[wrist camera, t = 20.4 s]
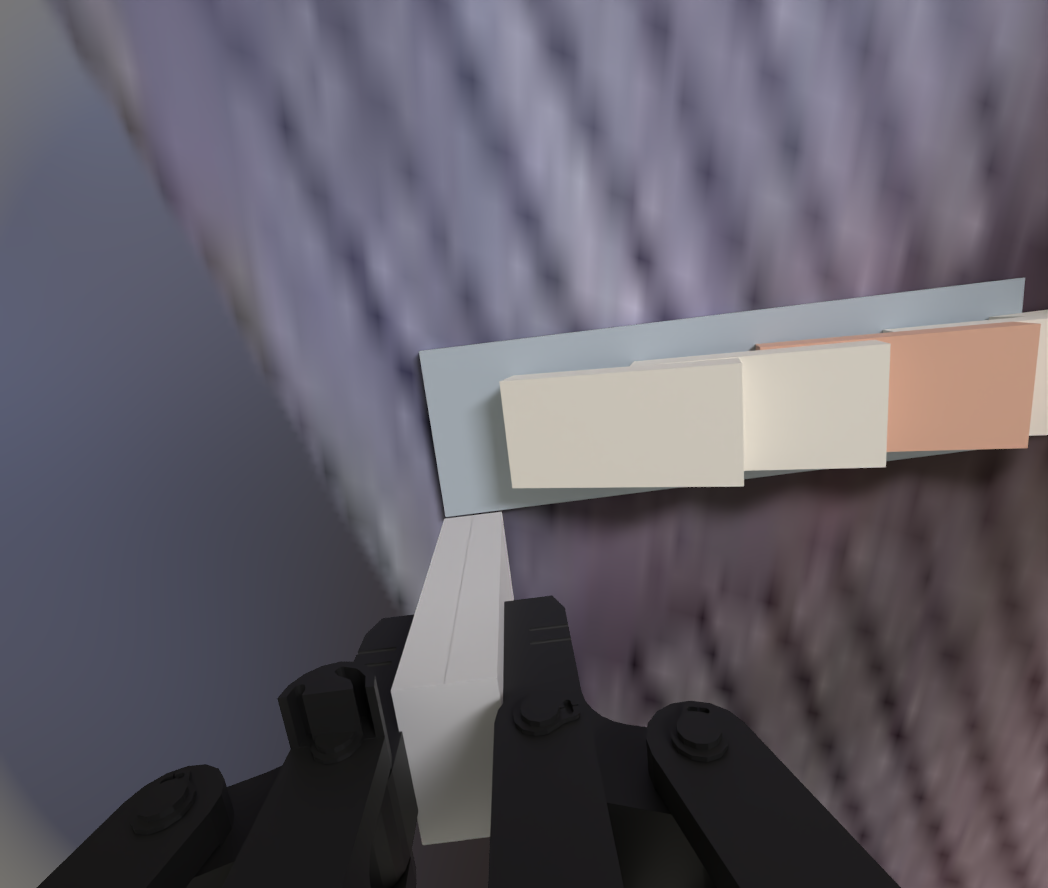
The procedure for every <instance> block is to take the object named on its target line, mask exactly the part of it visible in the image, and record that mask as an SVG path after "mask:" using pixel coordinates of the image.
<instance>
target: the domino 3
mask: <svg viewBox="0 0 1048 888" xmlns="http://www.w3.org/2000/svg"><path fill="white" fill-rule="evenodd" d="M1002 322H1025V323H1038V324H1041V328H1040V337H1039V346H1038V356H1037V365H1036V374H1035V384H1034V393H1033V402H1032V411H1031V421H1030V430H1029V436H1035V435H1048V314H1047V315H1036V316H1025V317H1015V318H1004V319H993V320H982V321H971V322H960V323H949V324H938V325H928V326H917V327H906V328H895V329H884V330H883V333H888V332H899V331H911V330H922V329H934V328H945V327H957V326H968V325H979V324H991V323H1002Z"/></svg>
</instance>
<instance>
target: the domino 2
mask: <svg viewBox="0 0 1048 888" xmlns="http://www.w3.org/2000/svg"><path fill="white" fill-rule="evenodd" d="M1040 328H1041V324H1038V323H1025V322H1002V323H991V324H979V325H968V326H957V327H945V328H934V329H922V330H911V331H899V332H888V333H876V334H865V335H854V336H842V337H831V338H819V339H808V340H796V341H785V342H774V343H762V344H756V350H766V349H777V348H788V347H800V346H811V345H822V344H833V343H844V342H855V341H867V340H878V341H882V342H886V343H890V344H891V346H890V372H889V398H888V424H887V450H886V452H901V451H939V450H976V449H1014V448H1028V439H1029V430H1030V421H1031V411H1032V402H1033V393H1034V384H1035V374H1036V365H1037V356H1038V346H1039V337H1040Z"/></svg>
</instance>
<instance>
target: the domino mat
mask: <svg viewBox="0 0 1048 888" xmlns="http://www.w3.org/2000/svg"><path fill="white" fill-rule="evenodd" d="M1024 285H1025V278H1014V279H1006V280H998V281H989V282H981V283H973V284H965V285H957V286H948V287H940V288H932V289H924V290H916V291H907V292H899V293H891V294H883V295H875V296H866V297H858V298H850V299H842V300H834V301H825V302H817V303H809V304H801V305H792V306H784V307H776V308H768V309H760V310H751V311H743V312H735V313H727V314H719V315H710V316H702V317H694V318H686V319H678V320H669V321H661V322H653V323H645V324H636V325H628V326H620V327H612V328H604V329H595V330H587V331H579V332H571V333H563V334H554V335H546V336H538V337H530V338H522V339H513V340H505V341H497V342H489V343H481V344H472V345H464V346H456V347H448V348H439V349H431V350H423V351H419V355H420V362H421V368H422V374H423V380H424V386H425V393H426V399H427V405H428V411H429V417H430V424H431V430H432V436H433V442H434V448H435V455H436V461H437V467H438V473H439V479H440V486H441V492H442V498H443V504H444V510H445V517H450V516H458V515H466V514H474V513H482V512H490V511H498V510H506V509H513V508H521V507H529V506H537V505H545V504H553V503H561V502H569V501H577V500H584V499H592V498H600V497H608V496H616V495H624V494H632V493H640V492H648V491H655V490H663V489H671V488H679V487H612V488H512V481H511V473H510V465H509V456H508V448H507V440H506V432H505V424H504V416H503V407H502V399H501V391H500V383H499V381H502V380H504V379H506V378H509V377H511V376H513V375H525V374H538V373H551V372H563V371H576V370H589V369H601V368H614V367H627V366H630V365H631V364H632V363H633V362H634V361H643V360H654V359H665V358H677V357H688V356H699V355H710V354H721V353H732V352H744V351H755V350H756V344H762V343H774V342H785V341H796V340H808V339H819V338H831V337H842V336H854V335H865V334H876V333H883V330H884V329H895V328H906V327H917V326H928V325H938V324H949V323H960V322H971V321H982V320H989V317H992V316H1000V315H1008V314H1016V313H1022V306H1023V296H1024ZM976 450H979V449H976ZM963 451H971V450H939V451H901V452H886V461H892V460H900V459H908V458H916V457H924V456H932V455H939V454H947V453H955V452H963ZM813 470H821V469H794V470H752V471H744V479H750V478H758V477H766V476H774V475H782V474H790V473H797V472H805V471H813Z"/></svg>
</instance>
